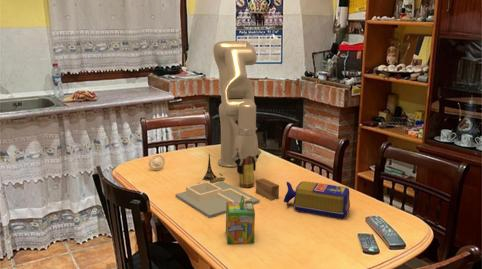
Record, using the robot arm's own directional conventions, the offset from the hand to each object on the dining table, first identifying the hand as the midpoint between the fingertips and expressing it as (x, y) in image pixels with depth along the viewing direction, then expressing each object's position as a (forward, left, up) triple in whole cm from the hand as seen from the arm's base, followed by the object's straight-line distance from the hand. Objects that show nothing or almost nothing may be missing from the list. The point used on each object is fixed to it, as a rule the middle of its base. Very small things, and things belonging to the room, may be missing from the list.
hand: (246, 171), depth 201 cm
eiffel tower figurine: (+8, -16, -7) cm, 20 cm away
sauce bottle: (0, 0, -7) cm, 7 cm away
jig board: (+19, +5, -7) cm, 21 cm away
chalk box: (+31, +36, -7) cm, 48 cm away
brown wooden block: (0, +14, -7) cm, 16 cm away
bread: (-6, +36, -7) cm, 37 cm away
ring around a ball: (+22, -40, -7) cm, 46 cm away
